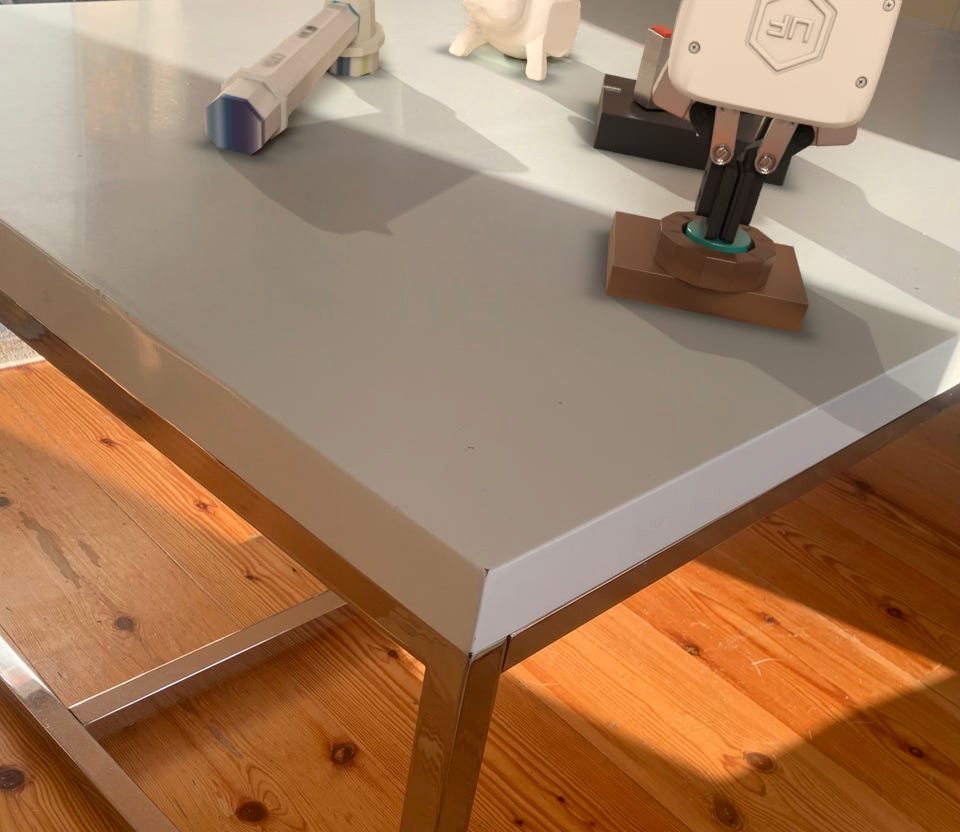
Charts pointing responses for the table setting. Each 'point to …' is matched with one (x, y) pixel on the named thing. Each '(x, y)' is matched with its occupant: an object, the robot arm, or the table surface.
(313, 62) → the white flashlight
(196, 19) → the table surface
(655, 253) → the button block
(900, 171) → the table surface
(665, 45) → the red-tipped steel block
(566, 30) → the pig figurine
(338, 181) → the table surface
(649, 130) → the lever base
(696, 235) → the button
